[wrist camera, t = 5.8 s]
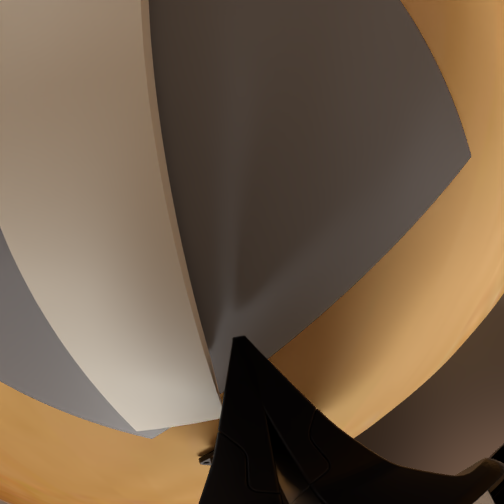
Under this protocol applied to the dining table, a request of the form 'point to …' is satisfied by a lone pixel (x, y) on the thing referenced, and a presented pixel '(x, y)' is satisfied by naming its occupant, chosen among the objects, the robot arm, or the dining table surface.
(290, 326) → the board
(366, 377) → the dining table surface
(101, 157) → the link
